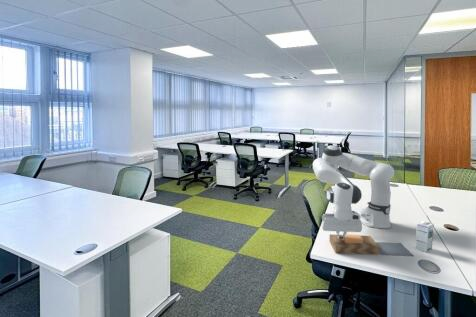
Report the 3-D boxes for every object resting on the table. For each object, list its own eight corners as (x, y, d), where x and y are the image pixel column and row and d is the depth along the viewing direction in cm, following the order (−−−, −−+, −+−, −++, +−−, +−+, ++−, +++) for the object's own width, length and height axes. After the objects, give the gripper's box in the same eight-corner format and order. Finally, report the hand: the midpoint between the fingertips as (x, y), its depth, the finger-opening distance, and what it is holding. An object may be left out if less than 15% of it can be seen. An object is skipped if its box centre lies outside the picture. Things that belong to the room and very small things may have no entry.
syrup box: (426, 252, 147) (429, 226, 145) (414, 248, 152) (416, 222, 150) (431, 250, 150) (434, 223, 148) (419, 245, 155) (422, 220, 153)
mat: (380, 254, 145) (380, 254, 145) (370, 242, 159) (370, 241, 159) (413, 256, 144) (413, 255, 143) (400, 243, 157) (400, 243, 157)
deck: (335, 253, 147) (335, 245, 146) (329, 241, 161) (329, 234, 160) (379, 254, 145) (380, 247, 144) (369, 242, 159) (370, 235, 158)
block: (345, 242, 150) (345, 239, 150) (342, 237, 156) (342, 234, 155) (362, 243, 149) (363, 239, 149) (359, 238, 155) (359, 234, 155)
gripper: (323, 215, 149) (322, 240, 151) (363, 216, 147) (362, 241, 149) (320, 211, 155) (319, 235, 157) (359, 212, 153) (358, 236, 155)
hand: (340, 238), depth 153 cm, fingers closed
